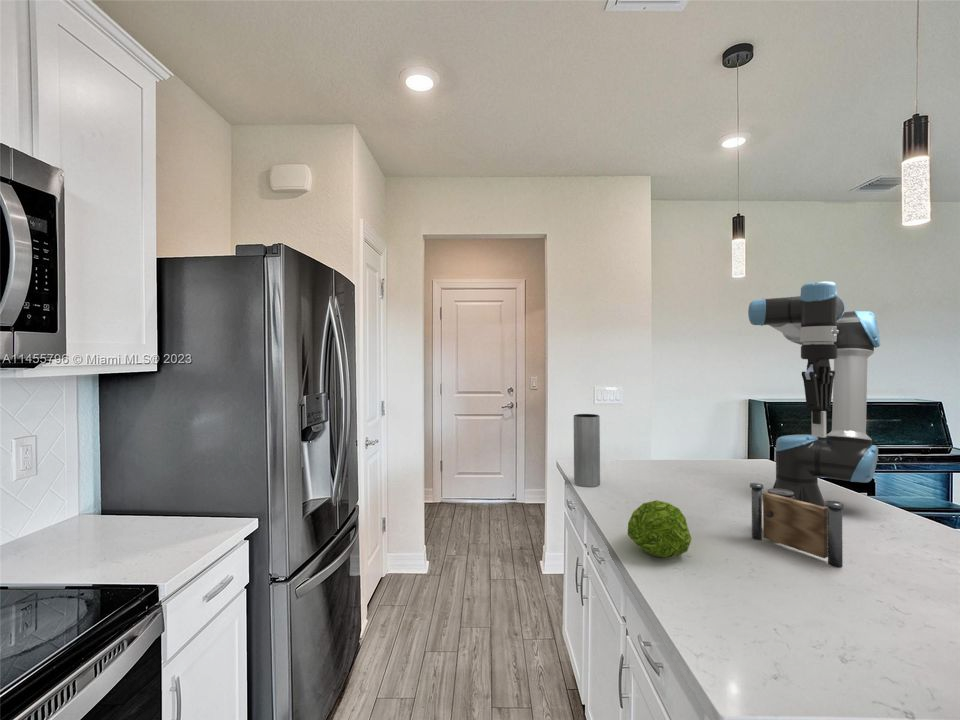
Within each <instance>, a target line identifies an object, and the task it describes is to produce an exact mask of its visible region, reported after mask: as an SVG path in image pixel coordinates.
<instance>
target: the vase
mask: <svg viewBox="0 0 960 720" xmlns="http://www.w3.org/2000/svg"><path fill="white" fill-rule="evenodd" d="M600 420H601V418H600V415H599V414H593V413H576V414H574V415H573V483H574V485H575V486H577V487H584V488H596V487H598V486H600V485H601V453H600V452H601V440H600V439H601V435H600V434H601V430H600V427H601V421H600Z"/></svg>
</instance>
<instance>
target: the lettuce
mask: <svg viewBox="0 0 960 720" xmlns="http://www.w3.org/2000/svg"><path fill="white" fill-rule="evenodd" d="M627 524H628V525H627V536H628V537H629V538H630V539H631V540H632V542H634V544H636V546H638V547H639V548H640V549H641V550H642V551H643V552H644V553H647V554H649V555H651V556H652V557H655V558H663V559H671V558H675V557H678V556H680V555H682V554H684V553H686V552H688V550H689V547H690V545H691V542H692V535H691V533H690V530H689V527H688V523H687V518H686V517H685V515H684V514H683V512H682V511H681V509H680V508H679V507H677V506H674V505H673V504H671V503H670V502H666V501H661V500H657V499H656V500H652V501H648V502H643V503H641V505H639V506H638V507H637V508H636V509H635V510H633V512H632V514H631V516H630V518H629V520H628V523H627Z"/></svg>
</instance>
